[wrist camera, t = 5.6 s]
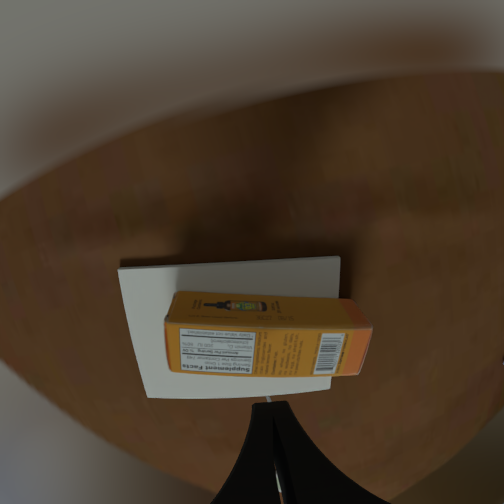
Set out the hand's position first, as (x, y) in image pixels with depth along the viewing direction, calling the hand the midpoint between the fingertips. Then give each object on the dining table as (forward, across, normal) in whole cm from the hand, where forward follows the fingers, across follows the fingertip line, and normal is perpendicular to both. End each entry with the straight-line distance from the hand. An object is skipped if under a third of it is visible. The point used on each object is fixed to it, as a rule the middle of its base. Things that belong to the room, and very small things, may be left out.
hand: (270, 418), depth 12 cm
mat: (+7, +2, 0) cm, 7 cm away
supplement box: (+5, -6, 0) cm, 7 cm away
